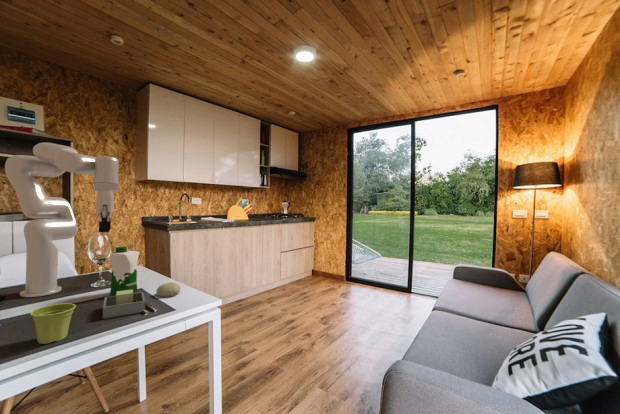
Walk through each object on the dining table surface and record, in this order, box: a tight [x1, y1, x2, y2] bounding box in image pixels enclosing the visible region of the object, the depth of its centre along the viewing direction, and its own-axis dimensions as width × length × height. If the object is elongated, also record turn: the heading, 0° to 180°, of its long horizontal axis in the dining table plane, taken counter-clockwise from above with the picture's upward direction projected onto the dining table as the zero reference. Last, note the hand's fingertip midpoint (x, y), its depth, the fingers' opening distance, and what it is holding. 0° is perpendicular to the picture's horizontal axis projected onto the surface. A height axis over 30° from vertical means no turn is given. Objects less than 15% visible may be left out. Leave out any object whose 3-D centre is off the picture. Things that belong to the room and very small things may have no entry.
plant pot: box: [30, 302, 77, 345], centre depth 77 cm, size 9×9×9 cm
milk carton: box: [109, 246, 140, 296], centre depth 117 cm, size 9×9×20 cm
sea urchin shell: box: [156, 282, 181, 298], centre depth 117 cm, size 9×8×8 cm
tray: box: [102, 291, 146, 320], centre depth 99 cm, size 12×12×4 cm
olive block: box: [115, 289, 133, 305], centre depth 99 cm, size 5×5×6 cm
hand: (104, 231), depth 105 cm, fingers open, 9 cm apart
